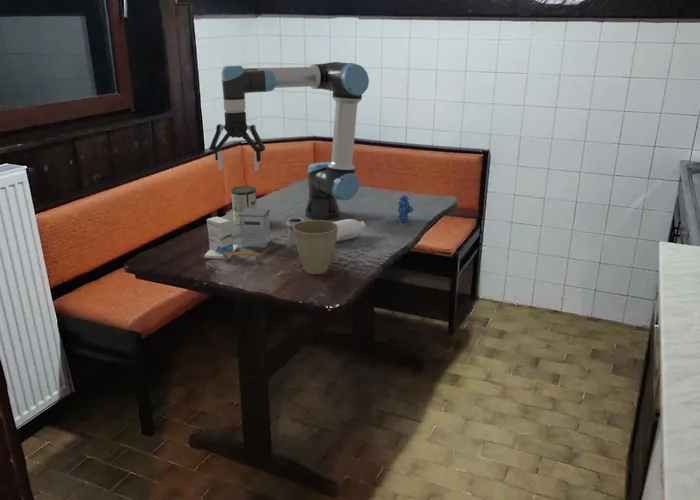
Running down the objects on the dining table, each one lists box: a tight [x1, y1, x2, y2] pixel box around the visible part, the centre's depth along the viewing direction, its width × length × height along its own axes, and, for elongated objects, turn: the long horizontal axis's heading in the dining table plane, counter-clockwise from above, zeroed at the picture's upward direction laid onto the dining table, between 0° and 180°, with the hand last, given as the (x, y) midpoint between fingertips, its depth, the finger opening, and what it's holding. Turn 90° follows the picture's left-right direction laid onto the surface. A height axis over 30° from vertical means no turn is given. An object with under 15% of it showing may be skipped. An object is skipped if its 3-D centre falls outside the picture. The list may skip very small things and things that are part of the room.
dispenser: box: [222, 208, 271, 264], centre depth 227 cm, size 13×24×13 cm, turn 173°
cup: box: [286, 217, 305, 254], centre depth 227 cm, size 7×7×12 cm
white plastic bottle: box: [332, 218, 367, 243], centre depth 239 cm, size 8×19×8 cm, turn 124°
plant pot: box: [293, 219, 338, 275], centre depth 208 cm, size 15×15×16 cm
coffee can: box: [230, 185, 258, 225], centre depth 260 cm, size 10×10×14 cm
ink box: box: [206, 216, 234, 254], centre depth 225 cm, size 9×5×12 cm, turn 47°
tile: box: [204, 244, 239, 260], centre depth 227 cm, size 9×12×1 cm
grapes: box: [397, 194, 415, 223], centre depth 259 cm, size 12×7×12 cm, turn 163°
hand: (238, 169), depth 227 cm, fingers open, 13 cm apart
